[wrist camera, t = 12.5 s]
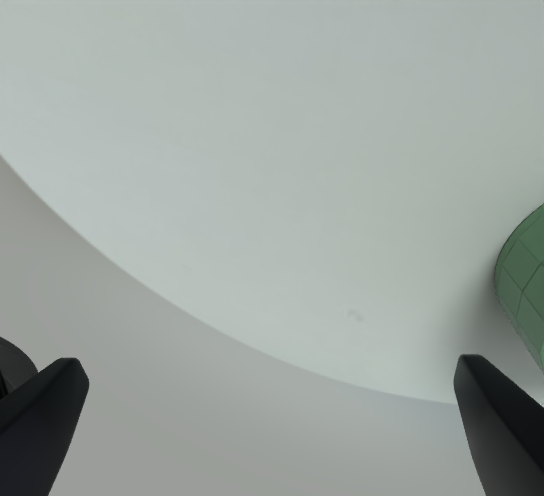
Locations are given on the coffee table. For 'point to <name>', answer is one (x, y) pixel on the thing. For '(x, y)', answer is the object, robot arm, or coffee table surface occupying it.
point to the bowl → (524, 283)
